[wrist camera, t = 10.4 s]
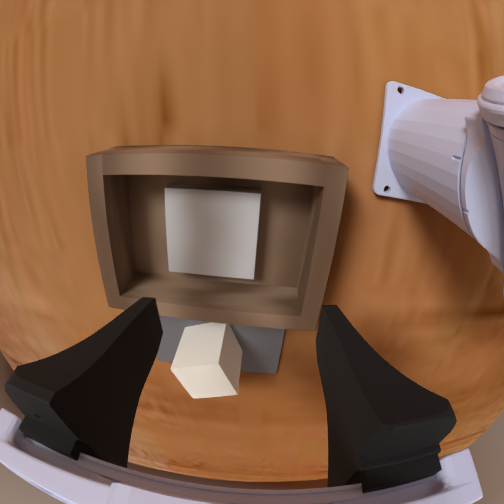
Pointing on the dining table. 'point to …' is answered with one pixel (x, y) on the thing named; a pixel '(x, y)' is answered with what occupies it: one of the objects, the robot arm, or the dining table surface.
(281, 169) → the walnut box
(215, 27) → the dining table surface
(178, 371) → the cream block
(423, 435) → the robot arm
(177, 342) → the charcoal mat
